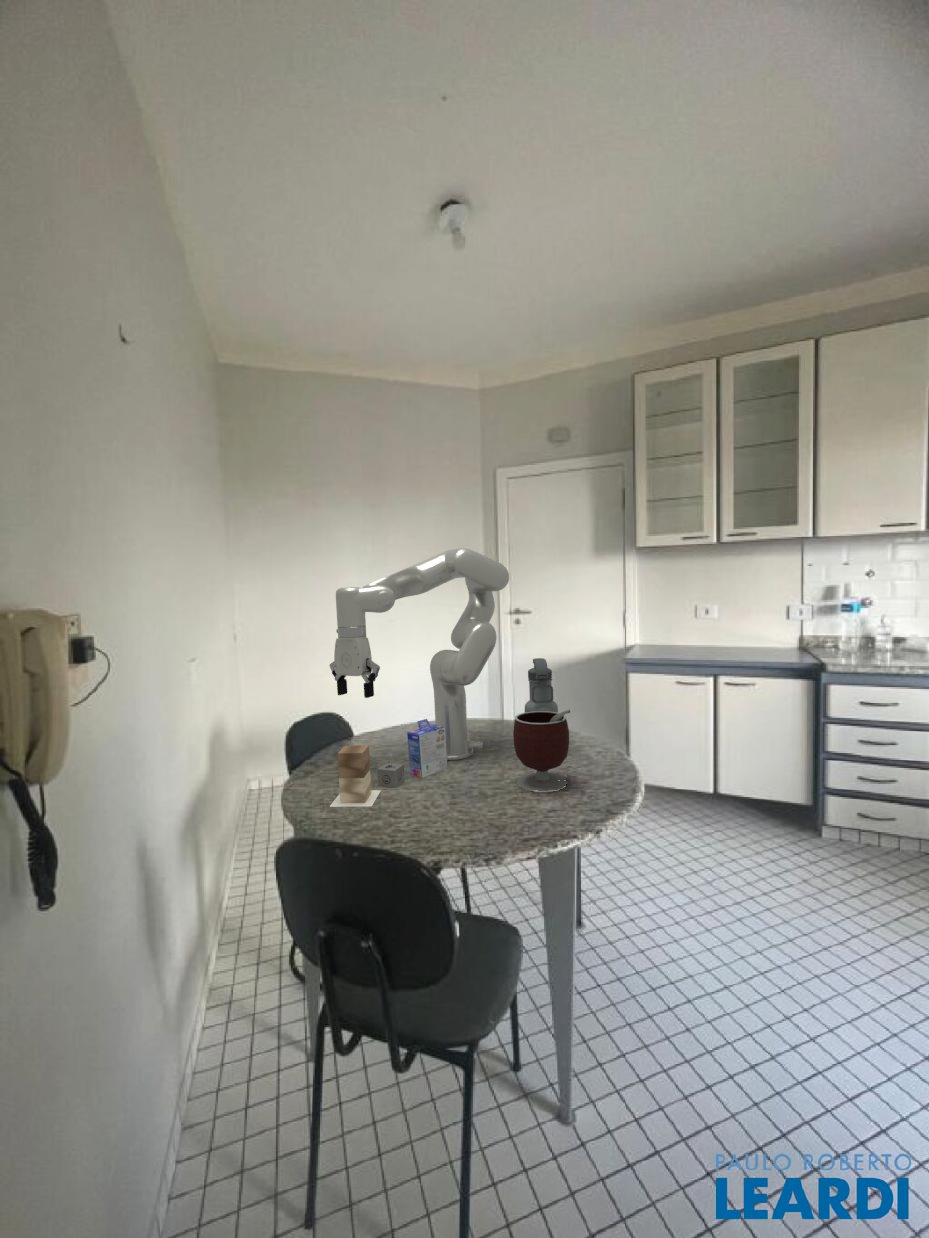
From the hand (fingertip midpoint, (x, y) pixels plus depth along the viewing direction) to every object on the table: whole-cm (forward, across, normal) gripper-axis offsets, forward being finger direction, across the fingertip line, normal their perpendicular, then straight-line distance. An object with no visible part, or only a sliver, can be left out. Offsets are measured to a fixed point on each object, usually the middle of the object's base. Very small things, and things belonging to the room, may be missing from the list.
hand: (355, 695), depth 150 cm
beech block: (+22, +12, -14) cm, 28 cm away
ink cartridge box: (+22, +16, +10) cm, 29 cm away
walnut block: (+16, +12, -14) cm, 24 cm away
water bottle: (+22, +38, +38) cm, 58 cm away
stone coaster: (+22, +12, -14) cm, 29 cm away
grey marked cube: (+22, +13, -2) cm, 26 cm away
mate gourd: (+22, +48, +15) cm, 55 cm away
